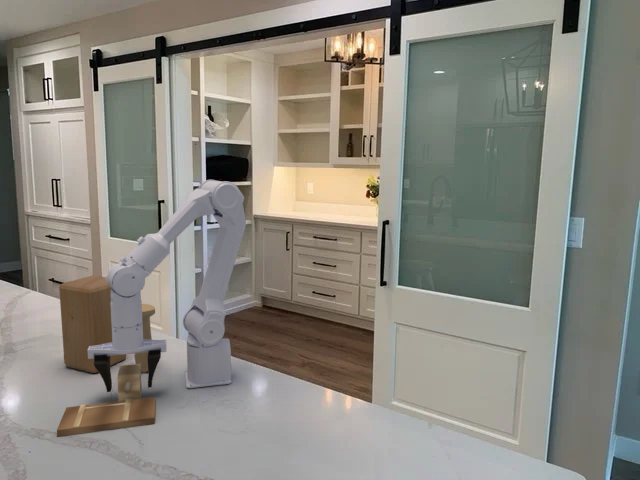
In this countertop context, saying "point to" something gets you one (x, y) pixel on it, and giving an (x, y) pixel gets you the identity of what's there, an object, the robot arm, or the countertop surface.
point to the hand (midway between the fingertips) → (130, 387)
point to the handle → (145, 335)
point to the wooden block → (85, 320)
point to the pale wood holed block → (129, 382)
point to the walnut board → (107, 416)
